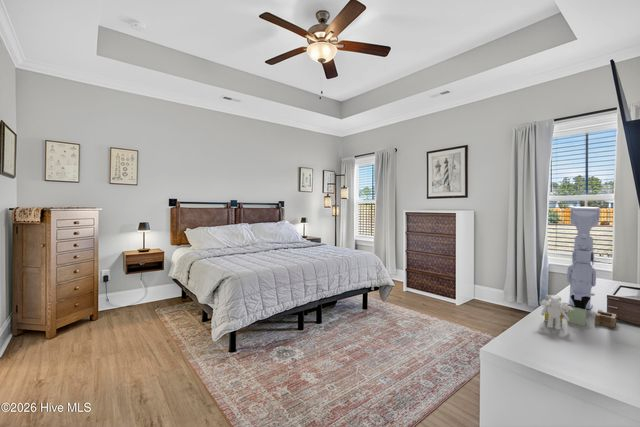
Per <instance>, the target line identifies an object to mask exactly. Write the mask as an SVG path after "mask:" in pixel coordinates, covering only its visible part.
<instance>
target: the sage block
mask: <svg viewBox="0 0 640 427" xmlns="http://www.w3.org/2000/svg"><path fill="white" fill-rule="evenodd" d="M569 306H570V308H571V310H570V311H571V312H570V311H569V310H567V311H568V312H567V314H566V315H567V317H568V318H569V321H567V320H566V322H567V323H571V324H574V325H579V326H584V327H585V326H586V324H587V316H588V315H587V312H588V309H586V308H585V309H581V308H576V307H575V306H571V305H569Z"/></svg>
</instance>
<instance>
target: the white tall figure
mask: <svg viewBox="0 0 640 427" xmlns="http://www.w3.org/2000/svg"><path fill="white" fill-rule="evenodd" d="M551 295H552V296H551V297H552V298H553V297H555V298H558V299H559V300H560V301H561V305H562V307H563V304H562V303H563V302H562V297H561V296H558V295H555V294H551ZM552 298H549V297H547V300H546V301H547V303H548V304H549V300H550V299H552ZM546 312H547V311H546ZM563 318H564V316H563V315H562V313H561V315H560V325H562V324H563ZM548 319H549V314H548V312H547V314H546V313H544V321H545V322H547V323H548ZM555 324H556V321H555V318H554V319H553V325H555Z"/></svg>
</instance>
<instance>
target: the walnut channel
mask: <svg viewBox="0 0 640 427" xmlns="http://www.w3.org/2000/svg"><path fill="white" fill-rule="evenodd" d="M561 303H562V304H563V306H564V305H565V304H567V303H566V302H561ZM563 310H564V309H563ZM565 311H567V310H565ZM615 323H617V314H616V313H611V312H606V311H603V310H602V309H597V312H595V315H594V326H600V325H601V326H605V327H608V328H613V327H614V328H615V327H616V324H615Z"/></svg>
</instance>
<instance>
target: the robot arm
mask: <svg viewBox="0 0 640 427" xmlns="http://www.w3.org/2000/svg"><path fill="white" fill-rule="evenodd" d="M600 218H601V208H600V207H599V206H596V207H594V206H575V205H573V206H571V207H570V212H569V219H570V224H571V226H574V227H576V230H577V235H576V236H575V237H574V242H573V243H574V244H573V245H574V246H573V251H572V253H571V254H572V257H571V264H570V265H568V267H567V272H566V282H567V284H569V300H568V302H567V303H566V304H567V305H568V306H571V307H576V308H581V309H586V310H591V309H592V307H593V305H594V304H593V303H591V302H592V301H591V298H592V297H591V296H594V297H595V295H596V294H595V293H594V292H592V288H594V287H595V286H596V284H597V282H596V281H597V270H596V269H595V267H593V266H594V264H595V250H594V238H593V237H592V236H591V230H592V228H594V227H597V226H598V225H599V223H600V222H599V221H600V220H601V219H600Z"/></svg>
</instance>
